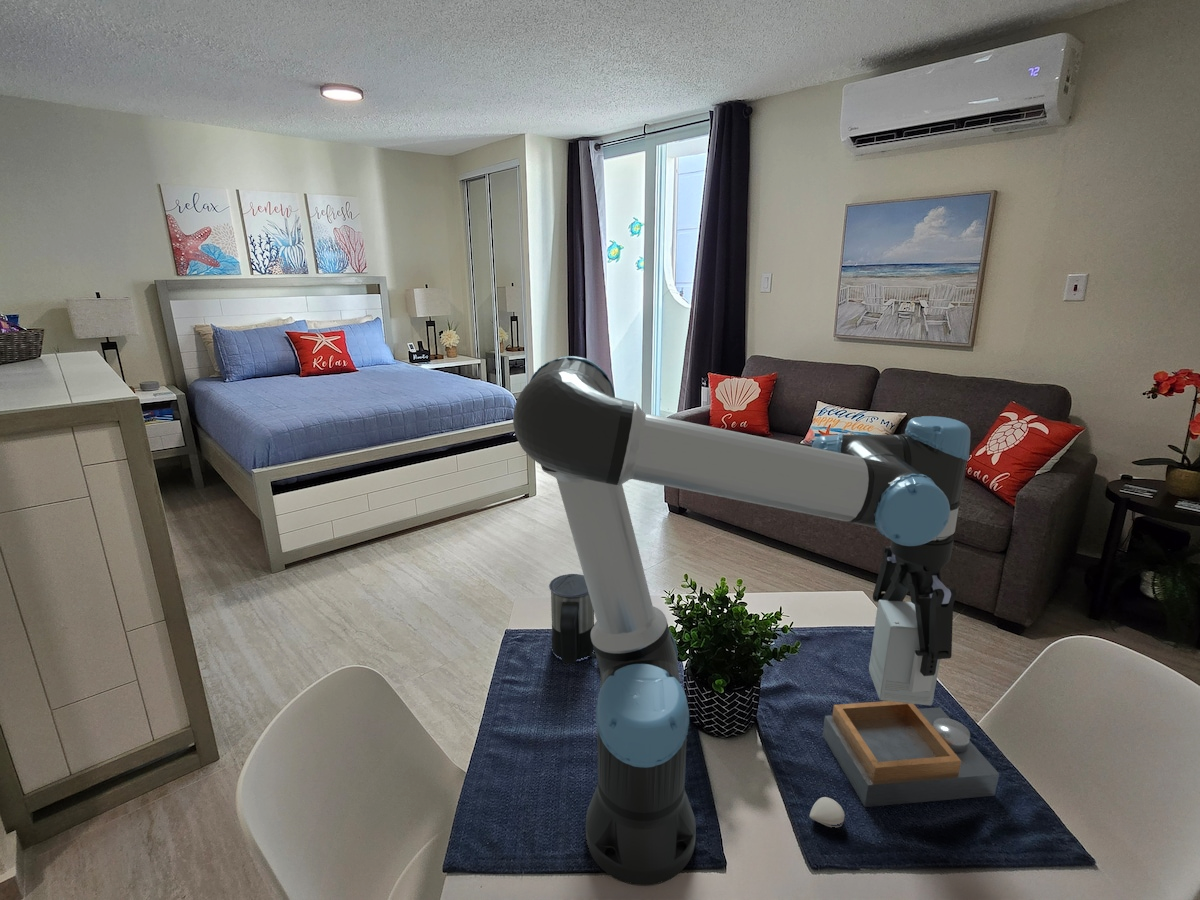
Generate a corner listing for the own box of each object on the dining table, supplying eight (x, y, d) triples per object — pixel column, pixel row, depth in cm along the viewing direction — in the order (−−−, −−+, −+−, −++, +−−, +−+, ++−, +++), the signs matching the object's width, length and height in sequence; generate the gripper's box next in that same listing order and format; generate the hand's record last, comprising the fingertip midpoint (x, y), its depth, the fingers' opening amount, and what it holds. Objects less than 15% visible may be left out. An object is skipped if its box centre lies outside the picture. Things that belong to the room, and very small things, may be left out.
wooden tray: (864, 807, 89) (870, 771, 87) (822, 735, 102) (826, 703, 100) (994, 795, 91) (1002, 760, 89) (936, 726, 104) (942, 694, 102)
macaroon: (849, 829, 86) (851, 815, 85) (817, 837, 85) (819, 823, 84) (830, 803, 90) (832, 790, 89) (800, 811, 89) (802, 797, 88)
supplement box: (933, 707, 88) (947, 631, 84) (878, 701, 89) (889, 626, 85) (918, 673, 95) (930, 602, 91) (867, 668, 96) (877, 597, 92)
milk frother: (547, 639, 129) (545, 576, 124) (619, 628, 132) (620, 566, 128) (560, 682, 116) (558, 613, 111) (640, 669, 119) (641, 601, 115)
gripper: (1004, 564, 75) (973, 718, 81) (905, 499, 95) (887, 627, 102) (945, 568, 74) (919, 722, 81) (859, 501, 94) (843, 630, 101)
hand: (901, 669), depth 91 cm, fingers closed on supplement box, 8 cm apart
